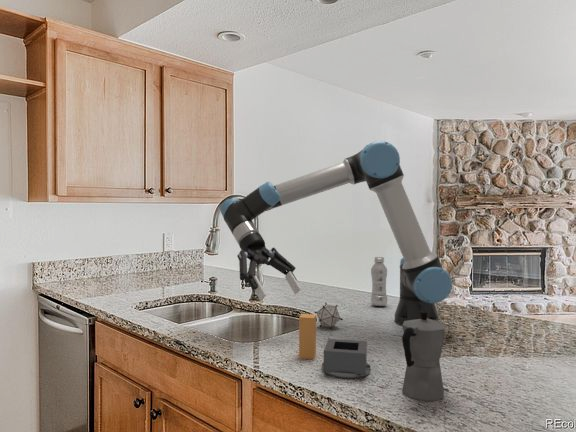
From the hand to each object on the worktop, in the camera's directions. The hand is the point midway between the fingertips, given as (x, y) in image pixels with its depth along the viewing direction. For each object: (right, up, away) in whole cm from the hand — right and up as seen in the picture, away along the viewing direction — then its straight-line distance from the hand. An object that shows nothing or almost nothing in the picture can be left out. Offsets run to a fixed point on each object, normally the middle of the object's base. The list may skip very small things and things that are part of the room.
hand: (281, 294), depth 128 cm
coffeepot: (+31, -16, -32) cm, 47 cm away
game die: (+16, -15, +21) cm, 30 cm away
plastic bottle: (+39, -14, +53) cm, 68 cm away
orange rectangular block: (+7, -15, -7) cm, 19 cm away
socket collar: (+16, -16, -17) cm, 29 cm away
